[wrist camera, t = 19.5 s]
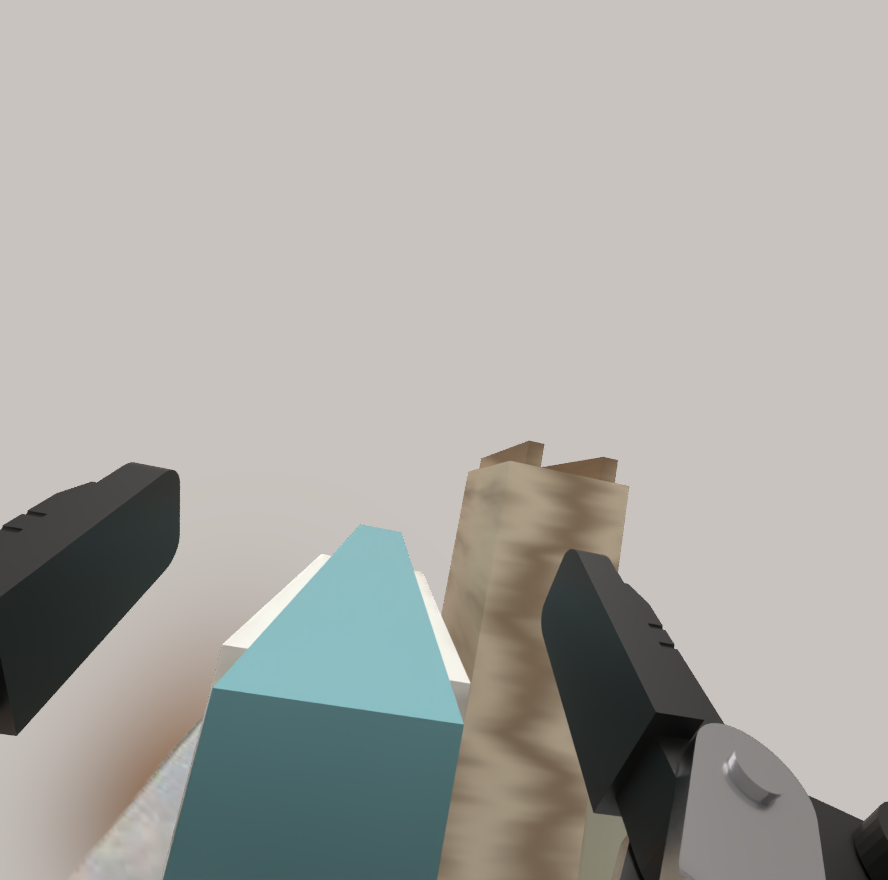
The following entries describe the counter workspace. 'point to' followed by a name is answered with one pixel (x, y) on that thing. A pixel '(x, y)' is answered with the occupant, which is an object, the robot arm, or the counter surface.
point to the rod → (328, 736)
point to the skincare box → (600, 845)
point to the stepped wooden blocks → (504, 661)
